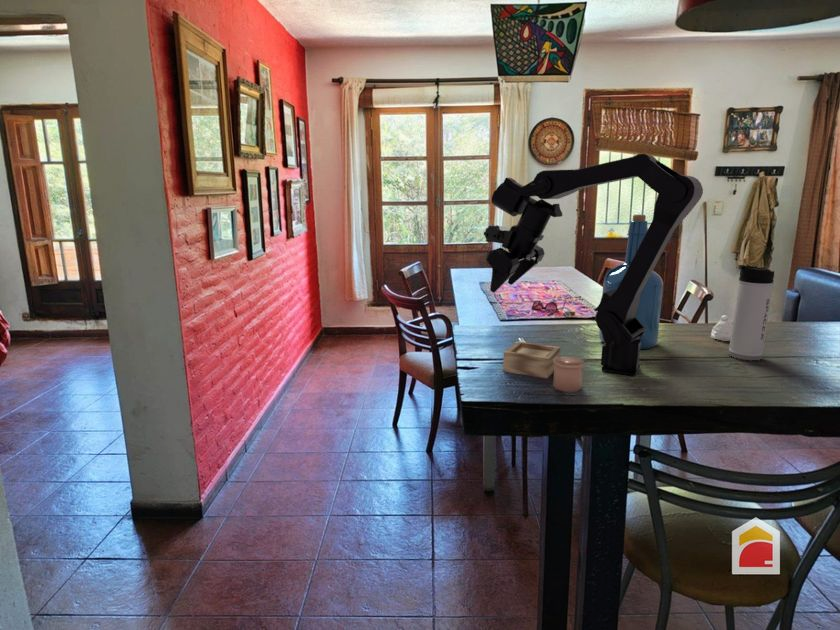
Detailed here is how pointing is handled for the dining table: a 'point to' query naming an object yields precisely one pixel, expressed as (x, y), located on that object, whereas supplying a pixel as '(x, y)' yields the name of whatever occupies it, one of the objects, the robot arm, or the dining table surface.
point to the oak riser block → (530, 359)
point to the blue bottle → (649, 294)
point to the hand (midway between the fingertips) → (501, 287)
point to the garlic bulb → (722, 329)
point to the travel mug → (751, 313)
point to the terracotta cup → (568, 373)
